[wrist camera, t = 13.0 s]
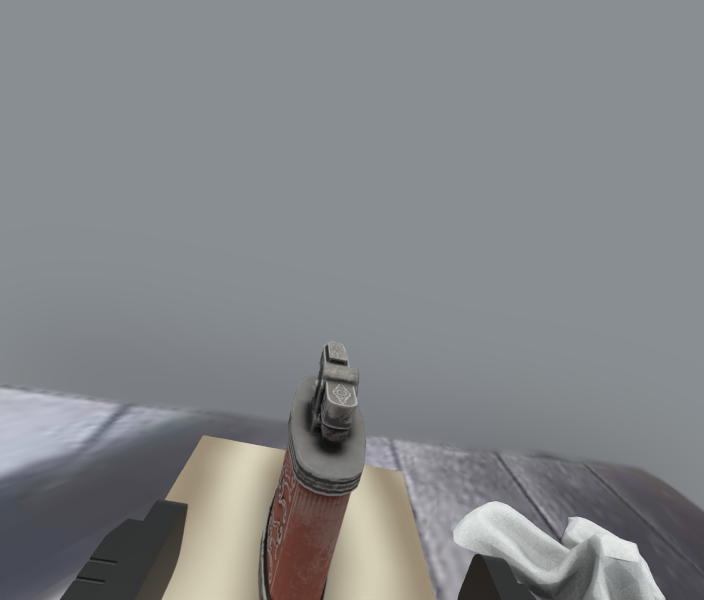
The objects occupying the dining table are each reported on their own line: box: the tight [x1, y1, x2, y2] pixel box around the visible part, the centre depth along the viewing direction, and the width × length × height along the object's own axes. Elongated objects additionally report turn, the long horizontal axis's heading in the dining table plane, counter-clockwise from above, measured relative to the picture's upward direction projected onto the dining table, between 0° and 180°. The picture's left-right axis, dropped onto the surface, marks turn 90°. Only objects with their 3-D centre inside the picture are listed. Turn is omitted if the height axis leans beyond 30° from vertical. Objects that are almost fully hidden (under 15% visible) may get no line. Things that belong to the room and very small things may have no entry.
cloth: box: [453, 501, 665, 600], centre depth 22 cm, size 22×19×6 cm
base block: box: [162, 435, 435, 600], centre depth 18 cm, size 14×14×4 cm
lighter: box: [258, 342, 366, 600], centre depth 17 cm, size 8×3×10 cm, turn 6°
